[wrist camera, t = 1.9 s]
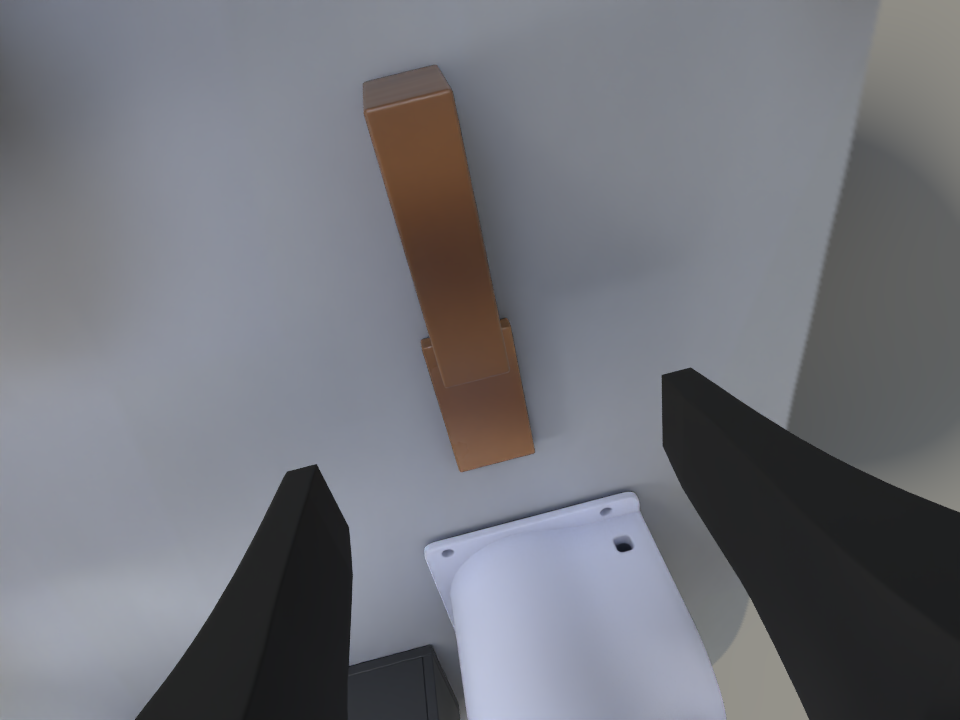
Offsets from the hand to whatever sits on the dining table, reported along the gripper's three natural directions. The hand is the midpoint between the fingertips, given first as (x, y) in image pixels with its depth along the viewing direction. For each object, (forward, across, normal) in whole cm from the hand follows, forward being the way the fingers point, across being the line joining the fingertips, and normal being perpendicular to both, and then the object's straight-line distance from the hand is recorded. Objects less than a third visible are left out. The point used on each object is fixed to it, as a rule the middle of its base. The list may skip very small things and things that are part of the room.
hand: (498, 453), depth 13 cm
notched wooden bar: (+8, 0, 0) cm, 8 cm away
